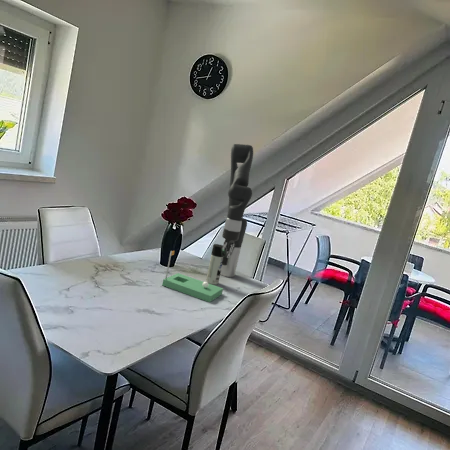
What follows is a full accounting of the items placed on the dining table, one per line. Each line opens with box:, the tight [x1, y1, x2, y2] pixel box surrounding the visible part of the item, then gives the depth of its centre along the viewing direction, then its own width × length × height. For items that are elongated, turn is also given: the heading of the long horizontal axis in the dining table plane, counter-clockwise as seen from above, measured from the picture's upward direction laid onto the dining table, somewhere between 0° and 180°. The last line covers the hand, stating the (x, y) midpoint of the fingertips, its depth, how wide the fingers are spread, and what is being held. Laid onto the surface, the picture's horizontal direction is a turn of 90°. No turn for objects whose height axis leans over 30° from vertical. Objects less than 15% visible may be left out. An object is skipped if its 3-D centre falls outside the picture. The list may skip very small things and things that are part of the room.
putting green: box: [161, 250, 224, 303], centre depth 202 cm, size 15×25×17 cm, turn 69°
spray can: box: [205, 243, 223, 286], centre depth 219 cm, size 7×7×20 cm
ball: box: [202, 281, 209, 288], centre depth 201 cm, size 3×3×3 cm
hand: (224, 264), depth 196 cm, fingers closed
